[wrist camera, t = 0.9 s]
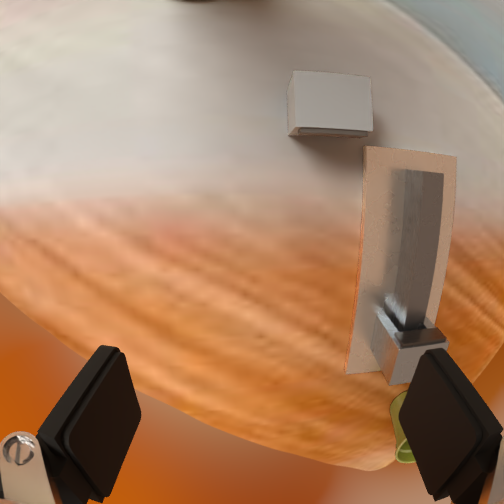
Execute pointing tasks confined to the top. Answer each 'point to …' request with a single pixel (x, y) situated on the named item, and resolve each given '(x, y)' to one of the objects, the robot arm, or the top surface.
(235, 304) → the top surface
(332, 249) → the top surface
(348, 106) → the grey block
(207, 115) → the top surface
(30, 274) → the top surface
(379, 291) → the rail
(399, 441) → the plant pot
